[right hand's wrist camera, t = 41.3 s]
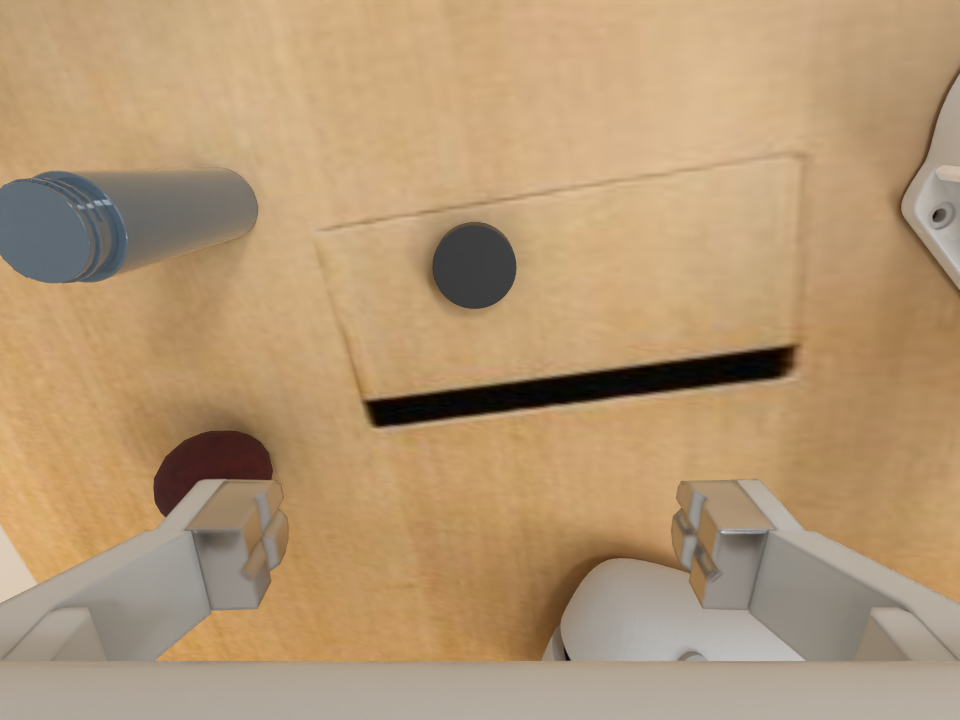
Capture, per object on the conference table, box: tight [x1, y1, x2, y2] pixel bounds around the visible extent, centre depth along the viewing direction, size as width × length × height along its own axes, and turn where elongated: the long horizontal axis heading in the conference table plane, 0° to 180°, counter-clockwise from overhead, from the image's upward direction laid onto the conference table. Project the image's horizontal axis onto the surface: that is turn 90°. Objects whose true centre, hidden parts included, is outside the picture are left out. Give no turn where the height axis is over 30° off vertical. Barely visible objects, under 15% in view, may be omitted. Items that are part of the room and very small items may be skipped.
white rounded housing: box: [541, 558, 806, 661], centre depth 40 cm, size 22×23×15 cm
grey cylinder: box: [0, 167, 258, 283], centre depth 27 cm, size 4×4×15 cm
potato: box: [154, 431, 273, 517], centre depth 37 cm, size 7×8×7 cm
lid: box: [433, 222, 516, 309], centre depth 34 cm, size 5×5×2 cm
